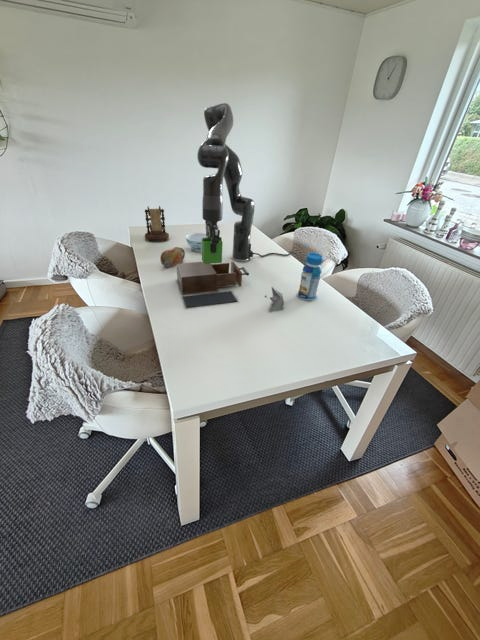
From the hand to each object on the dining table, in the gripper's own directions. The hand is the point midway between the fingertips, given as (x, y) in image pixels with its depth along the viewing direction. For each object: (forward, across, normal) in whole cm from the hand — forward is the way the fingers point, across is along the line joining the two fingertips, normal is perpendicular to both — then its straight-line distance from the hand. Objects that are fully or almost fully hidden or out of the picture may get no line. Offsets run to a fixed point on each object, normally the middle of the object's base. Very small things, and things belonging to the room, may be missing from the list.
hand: (212, 250), depth 122 cm
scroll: (+21, +79, +16) cm, 83 cm away
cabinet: (+21, +12, +4) cm, 25 cm away
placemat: (+22, -2, +1) cm, 22 cm away
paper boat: (+22, -13, -25) cm, 35 cm away
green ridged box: (+5, 0, 0) cm, 5 cm away
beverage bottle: (+21, -10, -43) cm, 49 cm away
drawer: (+21, +12, -11) cm, 26 cm away
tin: (+22, +38, +11) cm, 45 cm away
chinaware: (+21, +56, -6) cm, 60 cm away
